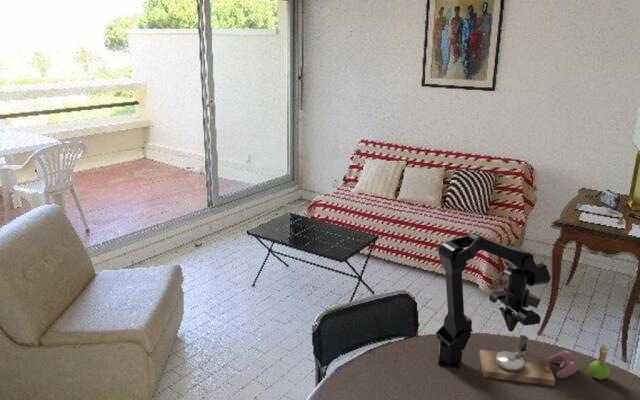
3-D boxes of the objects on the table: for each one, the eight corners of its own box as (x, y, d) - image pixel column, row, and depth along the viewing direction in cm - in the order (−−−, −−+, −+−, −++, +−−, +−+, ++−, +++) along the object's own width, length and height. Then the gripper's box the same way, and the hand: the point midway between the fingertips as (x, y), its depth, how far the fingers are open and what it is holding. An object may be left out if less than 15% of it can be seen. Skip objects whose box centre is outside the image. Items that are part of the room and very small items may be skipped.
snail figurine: (589, 382, 150) (595, 346, 147) (586, 370, 156) (593, 336, 153) (609, 386, 148) (616, 350, 145) (606, 374, 154) (613, 339, 151)
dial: (516, 375, 149) (518, 356, 147) (491, 363, 154) (493, 345, 153) (535, 358, 157) (538, 340, 156) (511, 348, 163) (513, 330, 161)
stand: (483, 376, 151) (484, 369, 151) (479, 355, 163) (480, 348, 162) (554, 386, 148) (555, 378, 147) (544, 363, 159) (545, 356, 158)
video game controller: (568, 385, 151) (583, 368, 149) (555, 377, 151) (569, 360, 149) (560, 366, 160) (573, 350, 158) (547, 359, 161) (560, 342, 158)
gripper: (558, 297, 153) (551, 342, 157) (519, 273, 171) (513, 315, 175) (527, 300, 150) (521, 347, 154) (490, 276, 168) (485, 318, 172)
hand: (510, 331), depth 164 cm, fingers closed
